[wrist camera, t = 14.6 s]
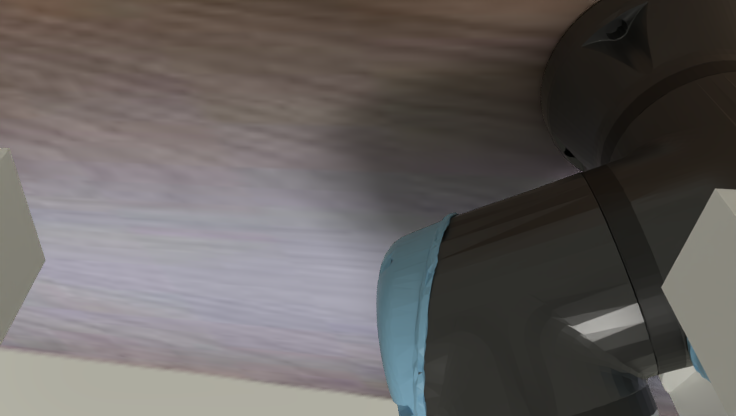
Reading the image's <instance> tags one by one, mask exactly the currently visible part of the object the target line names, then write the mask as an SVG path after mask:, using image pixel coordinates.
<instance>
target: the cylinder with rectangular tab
mask: <svg viewBox="0 0 736 416" xmlns="http://www.w3.org/2000/svg"><path fill="white" fill-rule="evenodd" d="M658 376H659V378H660V380H661V382H662V385H663V387H664V389H665V391H667V392H668V393H669V394H670V397H671V399H672V401H673V403H674V405H675V408H676V410H677V412H678V414H679V416H728V414H727V413H726V411H725V409H724V407H723V405H722V403H721V401H720V399H719V397H718V395H717V393H716V391H715V390H714V388H713V386H712V384H711V383H710V382H709V381H708V380H707V379H705V378H703V377H702V376H701V374H700V373H698V372H697V371H696V370H695V368H694V366H691V367H687V368H682V369H678V370H674V371H671V372H667V373H663V374H659V375H658Z"/></svg>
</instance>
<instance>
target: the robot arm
mask: <svg viewBox="0 0 736 416" xmlns="http://www.w3.org/2000/svg"><path fill="white" fill-rule="evenodd" d="M541 108H542V114H543V117H544V121H545V123H546V126H547V128H548V130H549V132H550V134H551V137H552V139H553V141H554V143H555V145H556V146H557V148H558V149H559V150H560V152H561V153H562V154H563V155H564V157H565V158H566V159H567V160H568V161H569V162H571V163H572V164H573V165H574V166H576V167H577V168H578V169H580V170H581V171H583V172H582V173H577V174H574V175H572V176H569V177H566V178H563V179H561V180H558V181H555V182H552V183H550V184H547V185H544V186H541V187H539V188H536V189H533V190H530V191H527V192H524V193H521V194H518V195H516V196H513V197H510V198H507V199H504V200H501V201H498V202H495V203H492V204H489V205H486V206H483V207H480V208H477V209H474V210H472V211H469V212H466V213H463V214H460V215H459V214H457V213H456V212H455V213H452V214H449V215H447V216H446V217H444V218H443V220H442V221H440V222H438V223H435V224H433V225H430V226H428V227H425V228H423V229H420V230H418V231H416V232H413V233H411V234H408V235H406V236H404V237H402V238H400V239H399V240H397V241H396V242H395V243H394V244H393V245H392V246H391V247H390V249H389V250H388V252H387V253H386V255H385V257H384V259H383V262H382V264H381V268H380V274H379V280H378V285H377V303H376V306H377V327H378V337H379V344H380V351H381V357H382V362H383V367H384V372H385V376H386V380H387V384H388V388H389V391H390V394H391V397H392V399H393V401H394V402H395V403H396V404H397V405H398V411H399V416H659V412H658V409H657V407H656V404H655V402H654V399H653V396H652V394H651V391H650V388H649V386H648V383H647V379H648V378H649V377H652V376H655V375H659V374H663V373H667V372H671V371H674V370H678V369H682V368H687V367H691V366H694V368H695V370H696V371H697V372H698V373H700V374H701V376H702V377H703V378H705V379H707V380H708V381H709V382H710V383H711V384H712V386H713V388H714V390H715V391H716V393H717V395H718V397H719V399H720V401H721V403H722V405H723V407H724V409H725V411H726V413H727V414H728V416H736V0H602V1H600V2H599V3H597V4H596V5H595V6H593V7H592V8H591V9H589V10H588V11H587V12H586V13H585V14H584V15H582V16H581V17H580V18H579V19H578V20H577V21H576V22H575V23H574V24H573V25H572V26H571V28H570V29H569V30H568V31H567V32H566V34H565V35H564V36H563V37H562V39H561V40H560V42H559V43H558V45H557V46H556V48H555V50H554V52H553V53H552V55H551V57H550V59H549V62H548V64H547V67H546V70H545V73H544V77H543V81H542V87H541ZM44 262H45V257H44V254H43V251H42V248H41V245H40V242H39V239H38V235H37V232H36V229H35V226H34V223H33V220H32V217H31V214H30V211H29V208H28V204H27V201H26V198H25V195H24V192H23V189H22V186H21V183H20V180H19V177H18V173H17V170H16V167H15V164H14V161H13V158H12V155H11V152H10V149H9V148H0V345H1V343H2V341H3V339H4V338H5V336H6V334H7V332H8V330H9V328H10V326H11V324H12V322H13V321H14V319H15V317H16V315H17V313H18V311H19V309H20V307H21V305H22V304H23V302H24V300H25V298H26V296H27V294H28V292H29V290H30V288H31V287H32V285H33V283H34V281H35V279H36V277H37V275H38V273H39V271H40V270H41V268H42V266H43V264H44Z"/></svg>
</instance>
